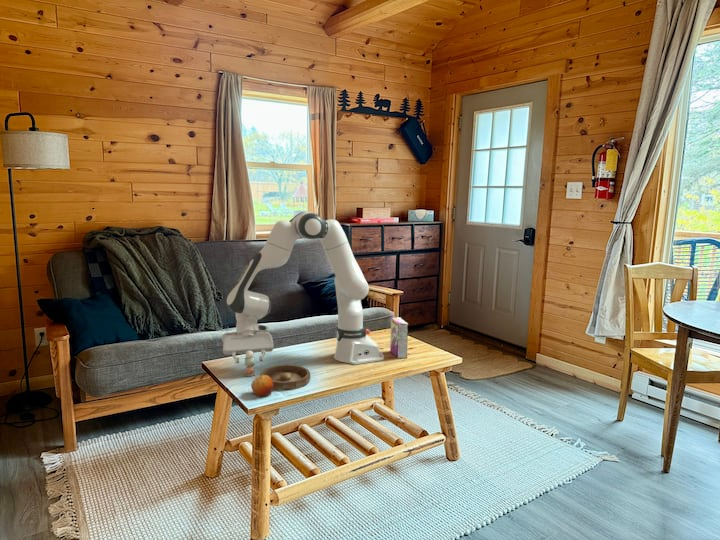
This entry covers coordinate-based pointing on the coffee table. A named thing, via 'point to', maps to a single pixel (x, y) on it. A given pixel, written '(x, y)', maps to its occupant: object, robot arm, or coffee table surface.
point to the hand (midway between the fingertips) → (249, 361)
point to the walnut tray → (295, 376)
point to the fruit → (262, 386)
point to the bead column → (249, 364)
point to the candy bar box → (399, 337)
